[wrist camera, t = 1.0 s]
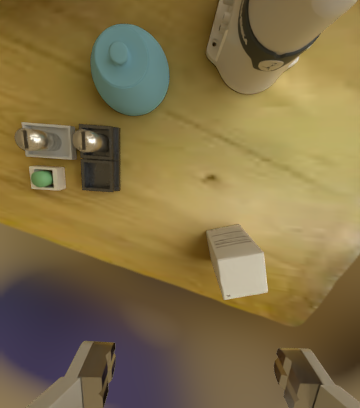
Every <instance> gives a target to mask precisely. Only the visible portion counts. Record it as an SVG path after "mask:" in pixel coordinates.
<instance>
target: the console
mask: <svg viewBox="0 0 360 408" xmlns="http://www.w3.org/2000/svg"><path fill="white" fill-rule="evenodd" d="M43 169H44V170H52V172H53V184H54V185H49V186H45V187H37V186H35V185H34V184H33V183H32V181H31V189H42V190H57V191H59V190H62V189H65V188H66V182H65V168H64V167H55V166H41V165H36V166H29V172H30V180H31V175H32V174H33V173H34V172H37V171H43Z"/></svg>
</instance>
